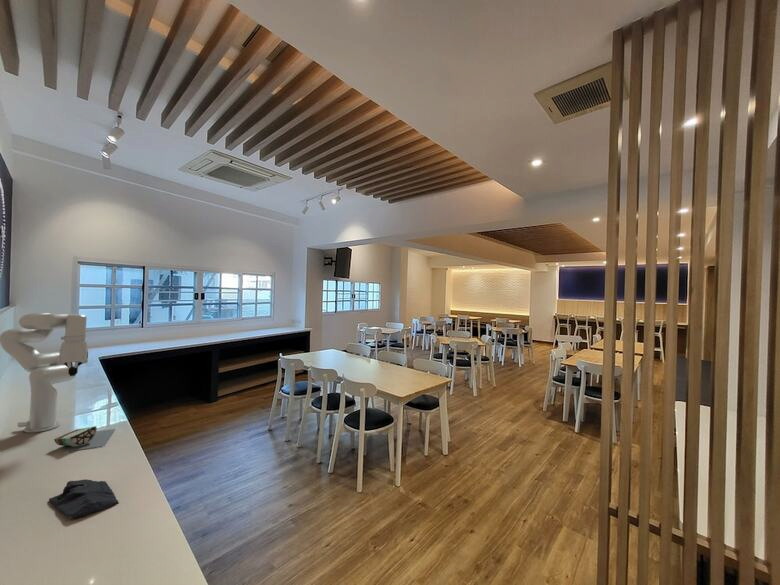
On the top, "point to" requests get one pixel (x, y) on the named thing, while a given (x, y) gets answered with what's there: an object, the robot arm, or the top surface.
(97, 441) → the rubber mat
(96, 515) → the top surface
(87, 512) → the dark slate chunk
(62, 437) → the food container
